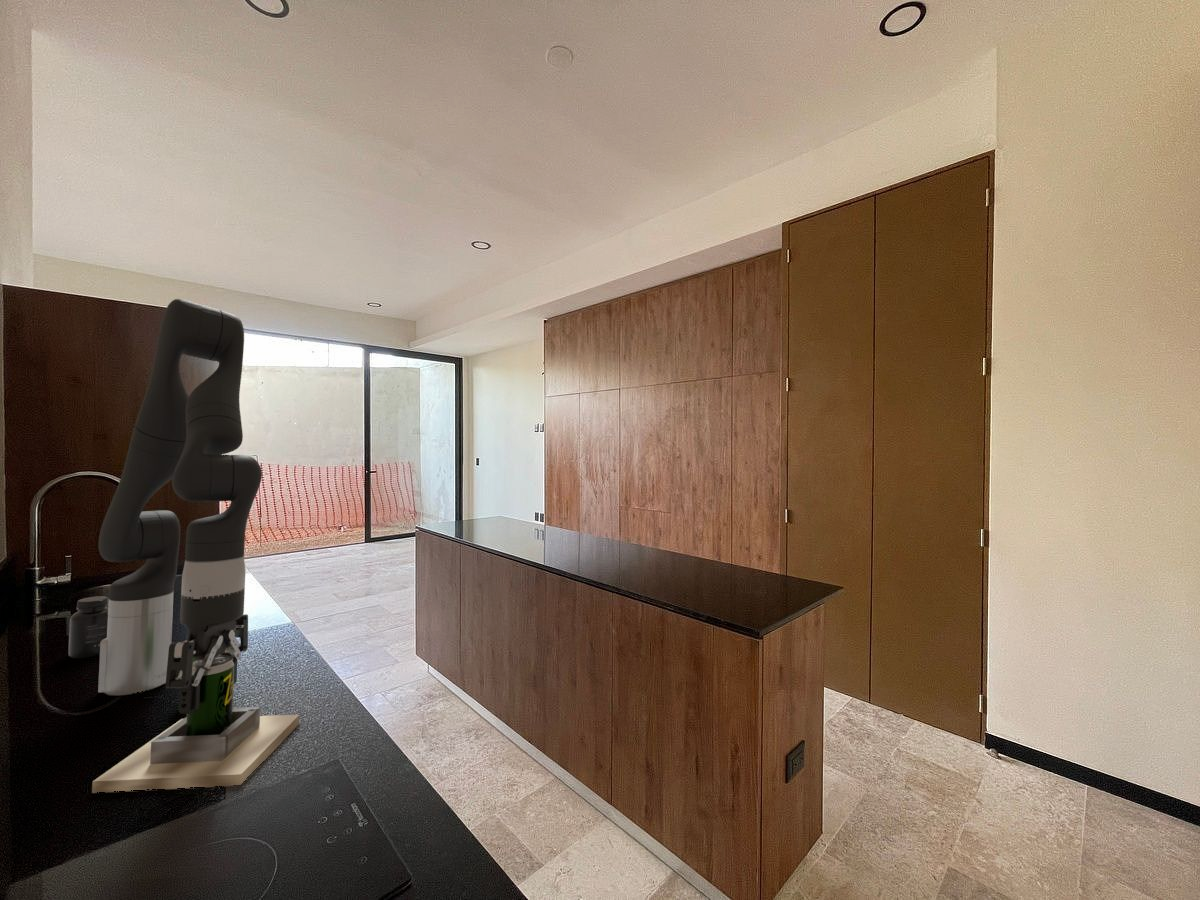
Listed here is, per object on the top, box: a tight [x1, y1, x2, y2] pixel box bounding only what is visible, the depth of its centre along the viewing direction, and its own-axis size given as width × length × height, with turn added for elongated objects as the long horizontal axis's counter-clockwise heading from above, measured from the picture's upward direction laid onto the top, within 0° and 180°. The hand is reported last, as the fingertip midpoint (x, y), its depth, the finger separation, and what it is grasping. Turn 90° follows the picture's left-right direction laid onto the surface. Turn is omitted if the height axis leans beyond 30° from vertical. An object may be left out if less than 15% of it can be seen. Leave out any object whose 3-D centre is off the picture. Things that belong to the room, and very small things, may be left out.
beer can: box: [186, 655, 235, 736], centre depth 74 cm, size 5×5×12 cm
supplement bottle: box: [68, 595, 109, 659], centre depth 111 cm, size 7×7×12 cm
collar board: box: [91, 706, 300, 794], centre depth 74 cm, size 18×16×4 cm
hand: (209, 698), depth 74 cm, fingers open, 8 cm apart
